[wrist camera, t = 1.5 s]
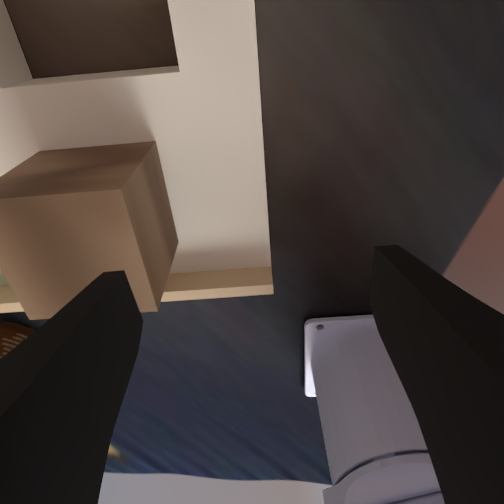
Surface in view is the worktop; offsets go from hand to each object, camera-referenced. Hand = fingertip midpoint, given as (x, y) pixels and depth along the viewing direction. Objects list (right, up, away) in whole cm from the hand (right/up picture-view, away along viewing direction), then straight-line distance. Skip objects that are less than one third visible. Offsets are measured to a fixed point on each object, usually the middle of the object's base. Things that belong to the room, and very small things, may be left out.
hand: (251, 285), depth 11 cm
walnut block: (-6, +3, +6) cm, 9 cm away
